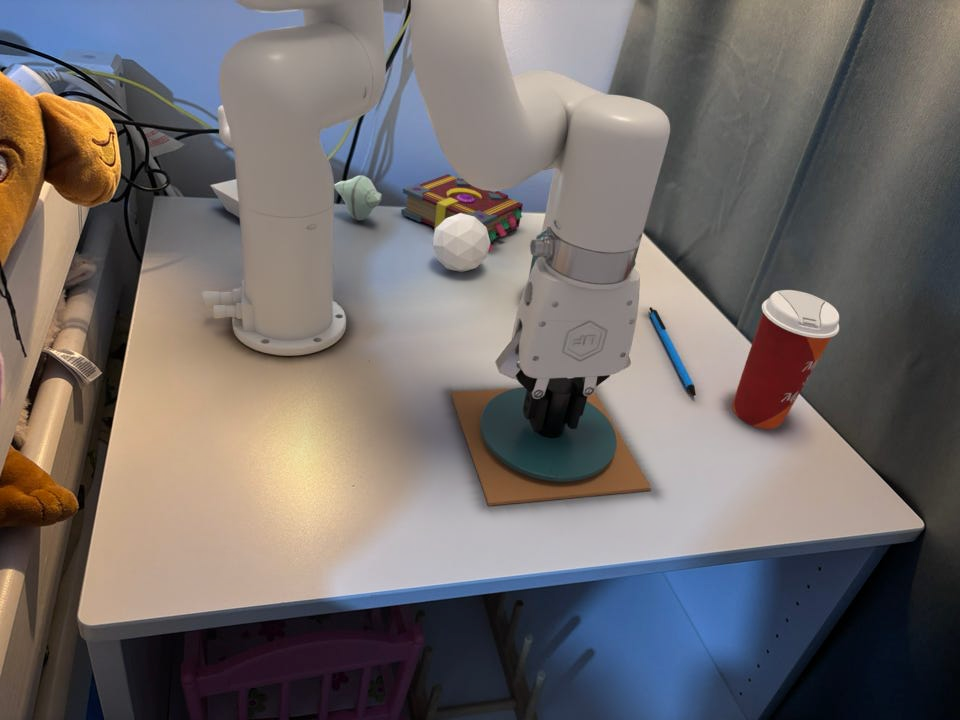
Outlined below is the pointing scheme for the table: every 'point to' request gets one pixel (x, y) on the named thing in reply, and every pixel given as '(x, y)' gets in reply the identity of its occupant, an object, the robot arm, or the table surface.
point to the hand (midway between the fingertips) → (550, 419)
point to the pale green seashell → (359, 196)
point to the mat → (519, 488)
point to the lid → (548, 436)
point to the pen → (672, 351)
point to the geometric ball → (461, 242)
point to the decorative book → (462, 205)
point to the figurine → (229, 188)
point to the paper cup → (783, 355)
